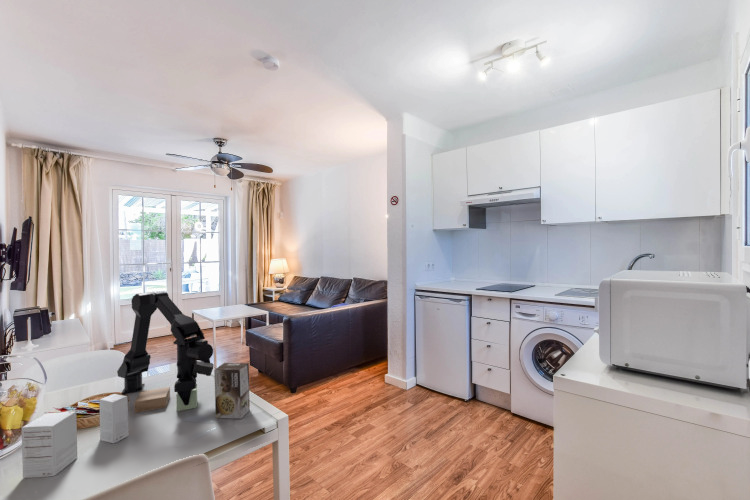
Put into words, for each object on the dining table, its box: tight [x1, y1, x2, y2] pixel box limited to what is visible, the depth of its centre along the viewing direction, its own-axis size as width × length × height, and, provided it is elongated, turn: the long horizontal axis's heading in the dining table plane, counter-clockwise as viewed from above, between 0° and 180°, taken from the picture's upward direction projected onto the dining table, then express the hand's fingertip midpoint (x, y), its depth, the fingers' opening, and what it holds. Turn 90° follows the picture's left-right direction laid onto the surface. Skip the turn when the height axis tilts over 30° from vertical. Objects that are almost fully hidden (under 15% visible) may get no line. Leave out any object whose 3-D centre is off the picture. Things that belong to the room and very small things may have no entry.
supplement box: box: [21, 411, 78, 479], centre depth 84 cm, size 7×7×13 cm
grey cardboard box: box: [213, 362, 251, 420], centre depth 110 cm, size 9×6×16 cm
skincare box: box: [98, 393, 129, 444], centre depth 97 cm, size 6×4×12 cm
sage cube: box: [176, 383, 198, 412], centre depth 117 cm, size 6×6×6 cm
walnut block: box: [134, 386, 171, 414], centre depth 118 cm, size 9×9×4 cm
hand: (187, 401), depth 117 cm, fingers closed on sage cube, 6 cm apart
